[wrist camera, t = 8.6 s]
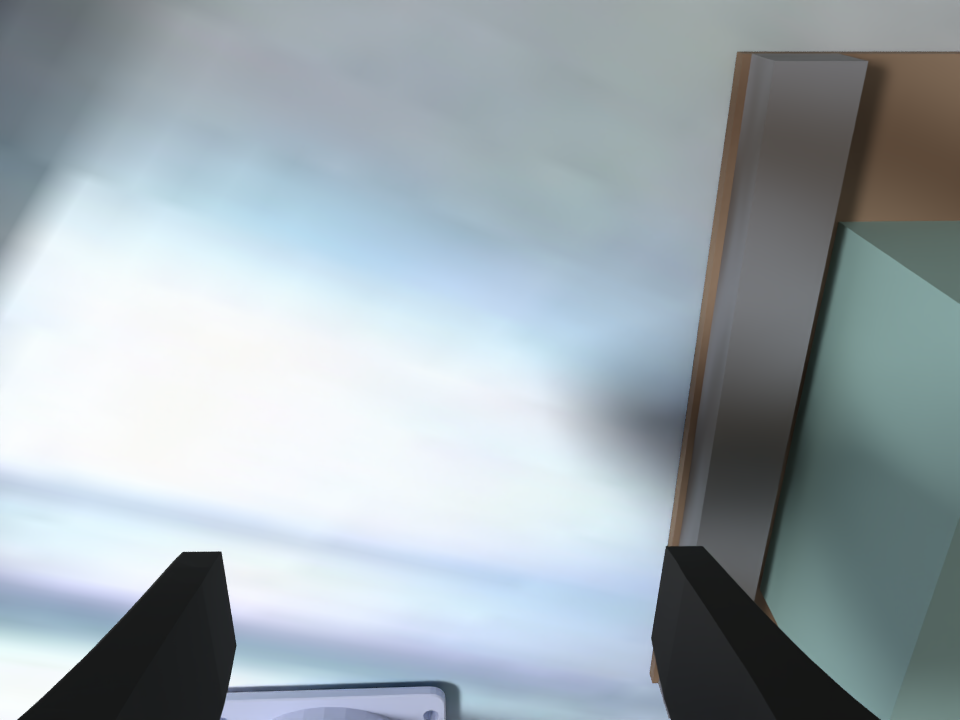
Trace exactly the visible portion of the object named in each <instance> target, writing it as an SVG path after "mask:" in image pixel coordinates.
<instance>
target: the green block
mask: <svg viewBox="0 0 960 720" xmlns="http://www.w3.org/2000/svg"><path fill="white" fill-rule="evenodd" d="M760 591H761V593H762V595H763V597H764V599H765V601H766V603H767V605H768V607H769V609H770V611H771V613H772V615H773V617H774V619H775V621H776V623H777V625H778V627H779V628H780V629H781V630H782V631H783V632H784V633H785V634H786V635H787V636H788V637H789V638H790V639H791V640H792V641H793V642H794V643H795V644H796V645H797V646H798V647H799V648H800V649H801V650H802V651H803V652H804V653H805V654H806V655H807V656H808V657H809V658H810V659H811V660H812V661H813V662H814V663H816V664H817V665H818V666H819V667H820V668H821V669H822V670H823V671H824V672H825V673H827V674H828V675H829V676H830V677H831V678H832V679H833V680H834V681H835V682H836V683H838V684H839V685H840V686H841V687H842V688H843V689H844V690H845V691H847V692H848V693H849V694H850V695H851V696H852V697H854V698H855V699H856V700H857V701H858V702H860V703H861V704H862V705H863V706H864V707H866V708H867V709H868V710H869V711H871V712H872V713H873V714H874V715H876V716H877V717H878V718H879V719H881V720H960V221H872V222H839V223H838V227H837V232H836V237H835V241H834V246H833V251H832V255H831V260H830V265H829V269H828V274H827V279H826V283H825V288H824V293H823V297H822V302H821V306H820V311H819V316H818V320H817V325H816V330H815V334H814V339H813V344H812V348H811V353H810V358H809V362H808V367H807V372H806V376H805V381H804V386H803V390H802V395H801V399H800V404H799V409H798V413H797V418H796V423H795V427H794V432H793V437H792V441H791V446H790V451H789V455H788V460H787V465H786V469H785V474H784V479H783V483H782V488H781V492H780V497H779V502H778V506H777V511H776V516H775V520H774V525H773V530H772V534H771V539H770V544H769V548H768V553H767V558H766V562H765V567H764V572H763V576H762V581H761V585H760Z"/></svg>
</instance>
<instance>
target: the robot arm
mask: <svg viewBox="0 0 960 720" xmlns="http://www.w3.org/2000/svg"><path fill="white" fill-rule="evenodd" d="M651 639H652V645H653V650H654V655H655V660H656V665H657V670H658V674H659V679H660V683H661V688H662V692H663V697H664V700H665V703H666V707H667V710H668V713H669V716H670V719H671V720H881V719H879V718H878V717H877V716H876V715H874V714H873V713H872V712H871V711H869V710H868V709H867V708H866V707H864V706H863V705H862V704H861V703H860V702H858V701H857V700H856V699H855V698H854V697H852V696H851V695H850V694H849V693H848V692H847V691H845V690H844V689H843V688H842V687H841V686H840V685H839V684H838V683H836V682H835V681H834V680H833V679H832V678H831V677H830V676H829V675H828V674H827V673H825V672H824V671H823V670H822V669H821V668H820V667H819V666H818V665H817V664H816V663H814V662H813V661H812V660H811V659H810V658H809V657H808V656H807V655H806V654H805V653H804V652H803V651H802V650H801V649H800V648H799V647H798V646H797V645H796V644H795V643H794V642H793V641H792V640H791V639H790V638H789V637H788V636H787V635H786V634H785V633H784V632H783V631H782V630H781V629H780V628H779V627H778V626H777V625H776V624H775V623H774V622H773V621H772V620H771V619H770V618H769V617H768V616H767V615H766V614H765V613H764V612H763V611H762V610H761V608H760V607H759V606H758V605H757V604H756V603H755V602H754V601H753V600H752V599H751V598H750V597H749V596H748V595H747V593H746V592H745V591H744V590H743V589H742V588H741V587H740V586H739V585H738V584H737V583H736V581H735V580H734V579H733V578H732V577H731V576H730V575H729V574H728V573H727V572H726V571H725V569H724V568H723V567H722V566H721V565H720V564H719V563H718V562H717V561H716V560H715V558H714V557H713V556H712V555H711V554H710V553H709V552H708V551H707V550H706V549H705V548H704V547H703V546H666V549H665V556H664V562H663V568H662V574H661V581H660V587H659V593H658V599H657V606H656V612H655V618H654V624H653V631H652V637H651ZM235 650H236V640H235V634H234V627H233V621H232V615H231V609H230V602H229V596H228V590H227V584H226V577H225V571H224V565H223V559H222V552H182V553H181V554H180V555H179V556H178V557H177V558H176V559H175V560H174V561H173V562H172V563H171V565H170V566H169V567H168V568H167V569H166V570H165V571H164V572H163V573H162V575H161V576H160V577H159V578H158V579H157V580H156V581H155V582H154V583H153V585H152V586H151V587H150V588H149V589H148V590H147V591H146V592H145V593H144V595H143V596H142V597H141V598H140V599H139V600H138V601H137V602H136V603H135V604H134V606H133V607H132V608H131V609H130V610H129V611H128V612H127V613H126V614H125V615H124V616H123V618H122V619H121V620H120V621H119V622H118V623H117V624H116V625H115V626H114V627H113V628H112V629H111V630H110V631H109V632H108V633H107V634H106V635H105V636H104V637H103V638H102V639H101V640H100V642H99V643H98V644H97V645H96V646H95V647H94V648H93V649H92V650H91V651H90V652H89V653H88V654H87V655H86V656H85V657H84V658H83V659H82V660H81V661H80V662H79V663H78V664H77V665H76V666H75V667H74V668H73V669H71V670H70V671H69V672H68V673H67V674H66V675H65V676H64V677H63V678H62V679H61V680H60V681H59V682H58V683H57V684H56V685H55V686H54V687H53V688H52V689H51V690H50V691H48V692H47V693H46V694H45V695H44V696H43V697H42V698H41V699H40V700H39V701H38V702H37V703H36V704H34V705H33V706H32V707H31V708H30V709H29V710H28V711H27V712H25V713H24V714H23V715H22V716H21V717H20V718H19V719H18V720H446V696H445V693H444V692H443V691H442V690H441V689H439V688H437V687H432V686H424V687H393V688H361V689H329V690H297V691H265V692H233V693H227V690H228V686H229V681H230V676H231V671H232V666H233V660H234V655H235ZM430 710H432V711H430ZM221 717H223V718H221Z"/></svg>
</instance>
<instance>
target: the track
mask: <svg viewBox="0 0 960 720" xmlns="http://www.w3.org/2000/svg"><path fill="white" fill-rule="evenodd" d="M872 221H960V52H737V57H736V64H735V71H734V78H733V86H732V93H731V100H730V107H729V114H728V121H727V128H726V135H725V142H724V149H723V157H722V164H721V171H720V178H719V185H718V192H717V199H716V206H715V213H714V221H713V228H712V235H711V242H710V249H709V256H708V263H707V270H706V277H705V284H704V292H703V299H702V306H701V313H700V320H699V327H698V334H697V341H696V348H695V355H694V363H693V370H692V377H691V384H690V391H689V398H688V405H687V412H686V419H685V426H684V434H683V441H682V448H681V455H680V462H679V469H678V476H677V483H676V490H675V498H674V505H673V512H672V519H671V526H670V533H669V540H668V546H703V547H704V548H705V549H706V550H707V551H708V552H709V553H710V554H711V555H712V556H713V557H714V558H715V560H716V561H717V562H718V563H719V564H720V565H721V566H722V567H723V568H724V569H725V571H726V572H727V573H728V574H729V575H730V576H731V577H732V578H733V579H734V580H735V581H736V583H737V584H738V585H739V586H740V587H741V588H742V589H743V590H744V591H745V592H746V593H747V595H748V596H749V597H750V598H751V599H752V600H753V601H754V602H755V603H756V604H757V605H758V606H759V607H760V608H761V610H762V611H763V612H764V613H765V614H766V615H767V616H768V617H769V618H770V619H771V620H772V621H773V622H774V623H775V624H776V625H777V623H776V621H775V619H774V617H773V615H772V613H771V611H770V609H769V607H768V605H767V603H766V601H765V599H764V597H763V595H762V593H761V591H760V585H761V581H762V576H763V572H764V567H765V562H766V558H767V553H768V548H769V544H770V539H771V534H772V530H773V525H774V520H775V516H776V511H777V506H778V502H779V497H780V492H781V488H782V483H783V479H784V474H785V469H786V465H787V460H788V455H789V451H790V446H791V441H792V437H793V432H794V427H795V423H796V418H797V413H798V409H799V404H800V399H801V395H802V390H803V386H804V381H805V376H806V372H807V367H808V362H809V358H810V353H811V348H812V344H813V339H814V334H815V330H816V325H817V320H818V316H819V311H820V306H821V302H822V297H823V293H824V288H825V283H826V279H827V274H828V269H829V265H830V260H831V255H832V251H833V246H834V241H835V237H836V232H837V227H838V223H839V222H872ZM777 626H778V625H777ZM650 676H651V680H652V683H658V684H659V687H660V690H661V694H662V697H663V692H662V688H661V683H660V679H659V674H658V670H657V665H656V660H655V655H654V650H653V654H652V661H651V668H650ZM663 701H664V704H665V707H666V703H665V700H664V697H663ZM666 711H667V714H668V717H669V718H670V716H669V713H668V710H667V707H666Z"/></svg>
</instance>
